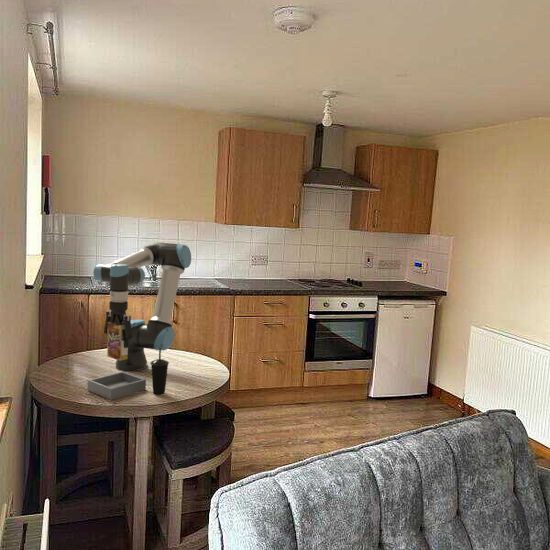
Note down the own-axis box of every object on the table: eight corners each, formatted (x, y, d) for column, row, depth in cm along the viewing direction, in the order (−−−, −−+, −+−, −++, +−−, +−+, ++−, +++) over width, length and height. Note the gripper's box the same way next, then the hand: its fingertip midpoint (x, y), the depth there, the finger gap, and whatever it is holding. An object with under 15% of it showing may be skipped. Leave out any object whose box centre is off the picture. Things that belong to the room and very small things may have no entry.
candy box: (106, 356, 231) (107, 322, 229) (114, 355, 234) (115, 320, 233) (119, 361, 226) (120, 325, 224) (127, 359, 229) (128, 324, 228)
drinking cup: (151, 389, 235) (152, 345, 232) (168, 390, 235) (170, 345, 233) (148, 396, 227) (149, 350, 225) (166, 396, 228) (168, 350, 225)
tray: (87, 390, 230) (87, 380, 229) (122, 381, 244) (122, 371, 244) (110, 399, 220) (111, 389, 220) (145, 389, 235) (145, 379, 234)
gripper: (95, 298, 231) (94, 349, 233) (127, 305, 218) (126, 359, 221) (110, 296, 237) (109, 346, 239) (142, 303, 224) (140, 356, 227)
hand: (117, 352), depth 230 cm, fingers closed on candy box, 9 cm apart
